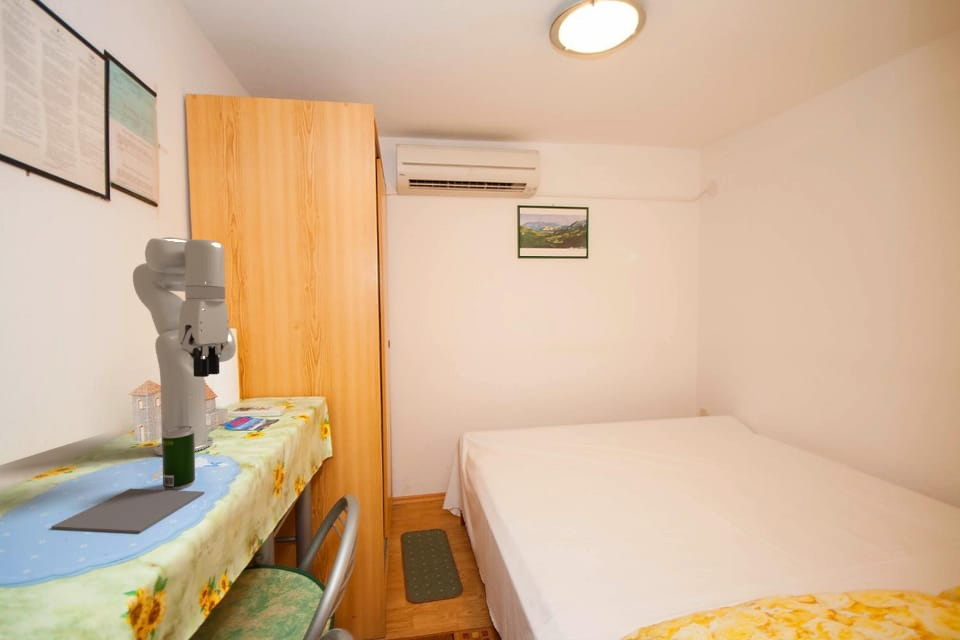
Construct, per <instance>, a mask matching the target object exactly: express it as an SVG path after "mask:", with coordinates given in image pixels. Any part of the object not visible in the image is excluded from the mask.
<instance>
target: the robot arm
mask: <svg viewBox="0 0 960 640" xmlns="http://www.w3.org/2000/svg"><path fill="white" fill-rule="evenodd" d="M225 255H226V254H225V247H224V245H223V243H221V242H219V241H215V240H208V239H187V238H179V237H171V236H169V237H162V238H150V239H149V240H148V241H147V244H146V246H145V250H144V256H145V261H146V263H141V264H139V265H137V266H136V267H135V268H134V269H133V272H132V283H133V288H134V291H135V293H136V296H137V297H138V299H139V300H140V302H141V303H142V304H143V305H144V307H146V308H147V310H148V311H149V313H150V315H151V319H152V321H153V324H154V328H155V330H156V333H157V334H158V336H157V338H156V339H155V345H154V347H155V353H156V358H157V363H158V368H159V376H160V377H159V378H160V382H159V383H160V410H161V411H160V412H161V413H160V417H161V418H160V420H161V421H160V423H161V437H162V436H163V434H164V430H166V429H169V428H173V427H178V426H192V427H193V430H194V440H195V451H196V452H199V451H202V450H205V449H207V448H209V447H210V446H212V445H213V444H214V438H213V437H211V436H210V435H209V434H210V433H211V432H214V431H216V430H217V429H218V428H219V427H218V424H217V423H215V422H214V423H212V424H209V425H207V410H206V409H207V406H206V402H207V399H206V397H207V396H206V394H207V393H206V389H207V388H206V380H205V378H207V377H209V376H210V375H219V374H220V363H222V362H223V363H224V362H227V361H230V360H231V359H232V358H233V357H234V356H235V354H236V350H237V345H236V340H235V337H234V334H233V333H232V331H231V328H230V327H229V326H230V324H229V314H228V313H229V312H228V307H227V301H226V265H225V264H226V260H225V259H226V257H225ZM173 292H184V295H185V298H184V299H183V298H182V297H180V296H179V295H178V294H176V293H173ZM212 443H213V444H212ZM211 444H212V445H211ZM208 446H209V447H208ZM206 447H207V448H206ZM204 448H205V449H204ZM201 449H202V450H201ZM198 450H199V451H198ZM153 451H154V452H153V453H154V454H155V455H157V456H162V442H161V443H159V444H157V445H156V446H154V448H153Z"/></svg>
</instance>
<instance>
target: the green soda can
mask: <svg viewBox="0 0 960 640" xmlns="http://www.w3.org/2000/svg"><path fill="white" fill-rule="evenodd" d="M161 443H162V455H161V456H162V486H163V488H164V490H177V491H181V490H184V489H187V488H189V487H190V486H193V485H194V482H195V480H196V461H195V460H196V455H195V454H196V452H195V440H194V430H193V427H192V426H178V427H173V428H169V429H166V430H164V434H163V436H162V435H161Z"/></svg>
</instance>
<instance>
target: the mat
mask: <svg viewBox="0 0 960 640" xmlns="http://www.w3.org/2000/svg"><path fill="white" fill-rule="evenodd" d="M204 494H205V491H198V490H197V491H196V490H166V489H150V488H149V489H146V488H129V489H126V490H125V491H123V492H120V493H119V494H116V495H114V496H112V497H110V498H107V499H106V500H104V501H101V502H99V503H98V504H95V505H93V506H91V507H89V508H87V509H85V510H83V511H80V512H78V513H76V514H75V515H72V516H70V517H68V518H66V519H63V520H62V521H59V522H58V523H55V524H53V525H52V526H51V530H52V529H54V530H66V531H67V530H68V531H69V530H71V531H72V530H73V531H88V530H89V531H92V532H111V533H132V534H141V533H142V532H144V531H146V530H147V529H149V528H151V527H152V526H154V525H155V524H157V523H159V522H161V521H162V520H164V519H165V518H167V517H169V516H170V515H172V514H174V513H176V512H177V511H179V510H181V508H183V507H186V506H187V505H188V504H190V503H192V502H194V501H195V500H196V499H198V498H200V497H202V496H203V495H204Z"/></svg>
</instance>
